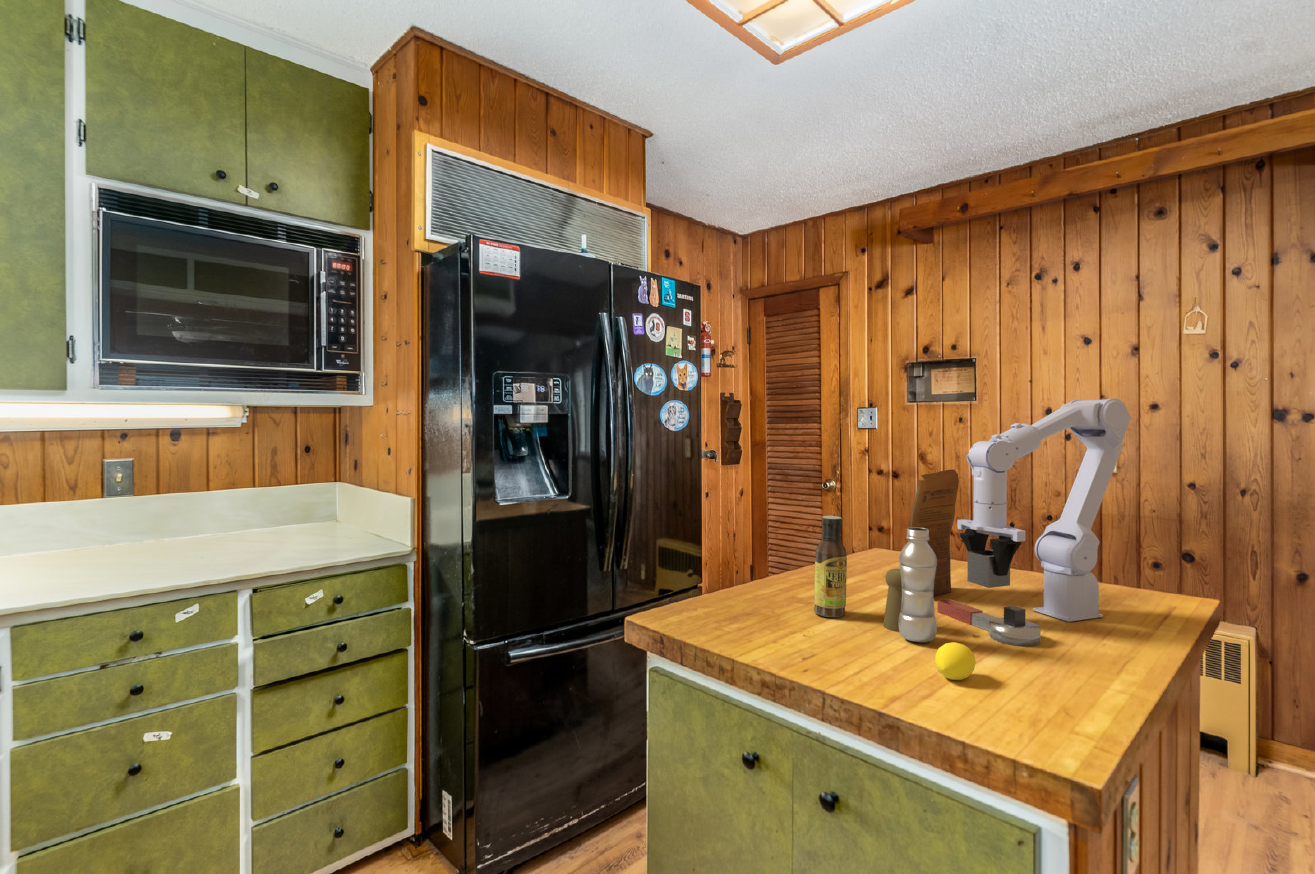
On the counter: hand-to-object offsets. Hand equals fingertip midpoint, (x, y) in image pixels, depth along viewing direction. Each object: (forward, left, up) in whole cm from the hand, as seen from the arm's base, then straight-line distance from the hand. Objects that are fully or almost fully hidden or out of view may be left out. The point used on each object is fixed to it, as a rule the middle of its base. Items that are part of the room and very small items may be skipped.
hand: (989, 571), depth 121 cm
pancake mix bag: (-3, -19, -10) cm, 21 cm away
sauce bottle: (+27, -14, -10) cm, 32 cm away
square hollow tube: (0, 0, -2) cm, 2 cm away
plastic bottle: (+21, +4, -10) cm, 23 cm away
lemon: (+27, +19, -10) cm, 35 cm away
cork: (+19, -3, -10) cm, 21 cm away
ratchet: (+4, +3, -10) cm, 11 cm away
